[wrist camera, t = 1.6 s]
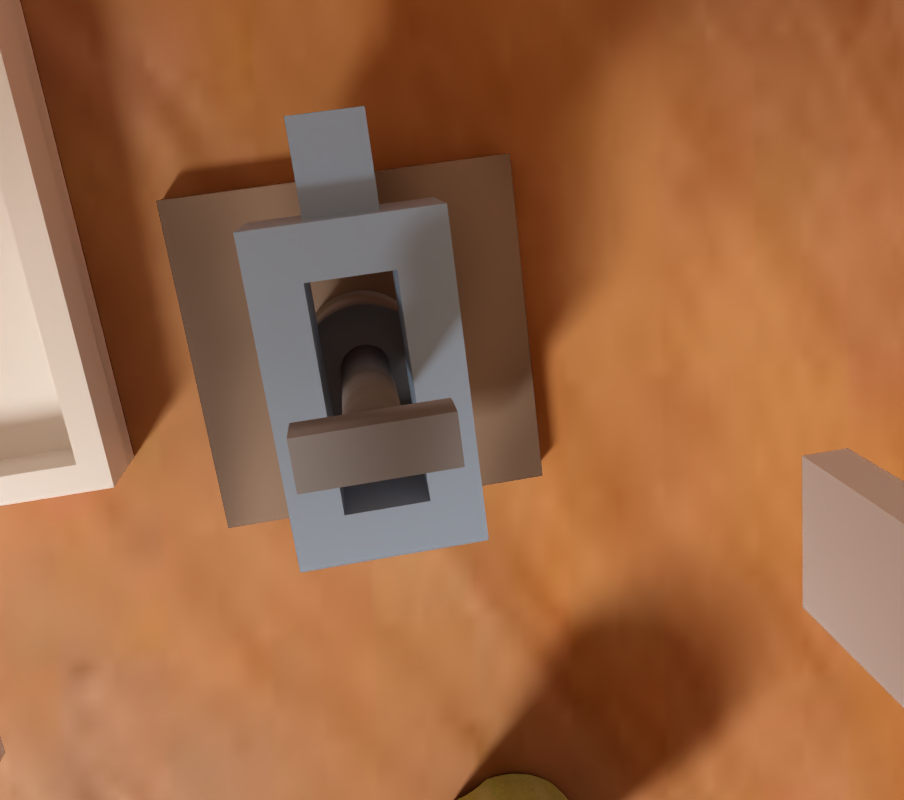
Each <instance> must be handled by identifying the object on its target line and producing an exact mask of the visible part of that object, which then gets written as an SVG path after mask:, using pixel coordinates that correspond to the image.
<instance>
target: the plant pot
mask: <svg viewBox="0 0 904 800" xmlns="http://www.w3.org/2000/svg"><path fill="white" fill-rule="evenodd" d="M457 800H568V799H567V798H566V797H565V796H564V794H563V793H562V792H561V791H560V790H559V789H558V788H557V787H556V786H554V785H553V784H552V783H550V782H549V781H547V780H545V779H543V778H540V777H537V776H533V775H528V774H505V775H499V776H495V777H492V778H489V779H486V780H485V781H484V782H483V783H482V784H480V785H479V786H478V787H477V788H476V789H474V790H473V791H472V792H470V793H469V794H467V795H465V796H464V797H462V798H459V799H457Z"/></svg>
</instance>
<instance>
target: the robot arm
mask: <svg viewBox="0 0 904 800" xmlns="http://www.w3.org/2000/svg"><path fill="white" fill-rule="evenodd" d="M802 496H803V608H804V609H805V610H806V611H807V612H808V613H809V614H810V615H811V616H812V617H813V618H814V619H815V620H816V621H817V622H818V623H819V624H820V625H821V626H822V627H823V628H824V629H825V630H826V631H827V632H828V633H829V634H830V635H831V636H832V637H833V638H834V639H835V640H836V641H837V642H838V643H839V644H840V645H841V646H842V647H843V648H844V649H845V650H846V651H847V652H848V653H849V654H850V655H851V656H852V657H853V658H854V659H855V660H856V661H857V662H858V663H859V664H860V665H861V666H862V667H863V668H864V669H865V670H866V671H867V672H868V673H869V674H870V675H871V676H872V677H873V678H874V679H875V680H876V681H877V682H878V683H879V684H880V685H881V686H882V687H883V688H884V689H885V690H886V691H887V692H888V693H889V694H890V695H891V696H892V697H893V698H894V699H895V700H896V701H897V702H898V703H899V704H900V705H901V706H902V707H903V708H904V481H902V480H900V479H899V478H897V477H895V476H894V475H892V474H890V473H889V472H887V471H885V470H884V469H882V468H880V467H879V466H877V465H875V464H873V463H872V462H870V461H868V460H867V459H865V458H863V457H862V456H860V455H858V454H857V453H855V452H853V451H852V450H850V449H848V448H846V449H840V450H834V451H828V452H822V453H816V454H810V455H804V456H802ZM4 754H5V749H4V746H3V743H2V740H1V737H0V761H1V759H2V757H3V756H4Z"/></svg>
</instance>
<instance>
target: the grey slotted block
mask: <svg viewBox="0 0 904 800" xmlns="http://www.w3.org/2000/svg"><path fill="white" fill-rule="evenodd" d="M284 120H285V126H286V131H287V137H288V143H289V149H290V154H291V160H292V166H293V172H294V177H295V183H296V189H297V195H298V200H299V206H300V212H301V215H298V216H291V217H284V218H277V219H269V220H262V221H255V222H247V223H245V224H244V225H242V226H241V227H240V228H239V229H237V230H236V231H235V232H233V234H234V239H235V244H236V249H237V254H238V260H239V265H240V270H241V275H242V280H243V285H244V290H245V295H246V300H247V305H248V310H249V315H250V320H251V325H252V330H253V335H254V341H255V346H256V351H257V356H258V361H259V366H260V371H261V376H262V381H263V386H264V391H265V396H266V401H267V406H268V411H269V416H270V422H271V427H272V432H273V437H274V442H275V447H276V452H277V457H278V462H279V467H280V472H281V477H282V482H283V487H284V492H285V497H286V503H287V508H288V513H289V518H290V523H291V528H292V533H293V538H294V543H295V548H296V553H297V558H298V563H299V568H300V572H306V571H312V570H318V569H324V568H329V567H335V566H341V565H347V564H353V563H358V562H364V561H370V560H376V559H381V558H387V557H393V556H399V555H405V554H410V553H416V552H422V551H428V550H434V549H439V548H445V547H451V546H457V545H462V544H468V543H474V542H480V541H486V540H489V538H488V530H487V522H486V514H485V506H484V498H483V490H482V481H481V473H480V465H479V457H478V449H477V441H476V433H475V425H474V417H473V409H472V401H471V393H470V385H469V377H468V369H467V361H466V353H465V345H464V337H463V328H462V320H461V312H460V304H459V296H458V288H457V280H456V272H455V264H454V256H453V248H452V240H451V232H450V224H449V216H448V208H447V203H445V202H443V201H441V200H439V199H437V198H435V197H430V198H422V199H415V200H408V201H401V202H393V203H386V204H379V201H378V194H377V187H376V180H375V173H374V167H373V160H372V153H371V146H370V139H369V132H368V126H367V119H366V112H365V106H360V107H352V108H344V109H336V110H328V111H320V112H313V113H305V114H297V115H289V116H284ZM385 271H392V272H393V279H394V285H395V292H396V299H397V306H398V313H399V320H400V327H401V333H402V340H403V347H404V354H405V361H406V368H407V375H408V381H409V388H410V395H411V402H412V404H413V403H419V402H426V401H432V400H438V399H445V398H452V400H453V402H454V405H455V407H456V409H457V411H458V417H459V425H460V433H461V441H462V448H463V456H464V464H465V467H462V468H456V469H449V470H443V471H437V472H431V473H425V474H419V475H413V476H407V477H401V478H395V479H389V480H383V481H377V482H371V483H365V484H359V485H353V486H346V487H340V488H334V489H328V490H322V491H316V492H310V493H304V494H298V495H297V491H296V486H295V480H294V475H293V470H292V465H291V460H290V454H289V449H288V444H287V433H288V427H289V423H293V422H299V421H305V420H312V419H318V418H324V417H331V416H333V410H332V404H331V399H330V393H329V387H328V381H327V376H326V370H325V364H324V358H323V353H322V347H321V341H320V335H319V330H318V324H317V318H316V313H315V307H314V301H313V295H312V290H311V284H310V282H316V281H323V280H330V279H337V278H344V277H351V276H358V275H365V274H372V273H378V272H385Z"/></svg>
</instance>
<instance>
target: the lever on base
mask: <svg viewBox="0 0 904 800" xmlns="http://www.w3.org/2000/svg"><path fill="white" fill-rule="evenodd" d="M374 173H375V180H376V187H377V194H378V201H379V204H386V203H393V202H401V201H408V200H415V199H422V198H430V197H435V198H437V199H439V200H441V201H443V202H445V203H447V208H448V216H449V224H450V232H451V240H452V248H453V256H454V264H455V272H456V280H457V288H458V296H459V304H460V312H461V320H462V328H463V337H464V345H465V353H466V361H467V369H468V377H469V385H470V393H471V401H472V409H473V417H474V425H475V433H476V441H477V449H478V457H479V465H480V473H481V481H482V486H483V485H489V484H495V483H501V482H507V481H513V480H519V479H525V478H531V477H537V476H542V466H541V456H540V447H539V437H538V427H537V417H536V407H535V397H534V387H533V378H532V368H531V358H530V348H529V338H528V328H527V319H526V309H525V299H524V289H523V279H522V269H521V259H520V250H519V240H518V230H517V220H516V210H515V200H514V190H513V181H512V171H511V161H510V154H498V155H491V156H483V157H476V158H468V159H461V160H453V161H446V162H438V163H431V164H423V165H416V166H408V167H401V168H393V169H386V170H378V171H374ZM156 202H157V207H158V211H159V216H160V221H161V225H162V230H163V234H164V239H165V243H166V248H167V252H168V257H169V261H170V266H171V270H172V275H173V279H174V284H175V288H176V293H177V297H178V302H179V306H180V311H181V315H182V320H183V324H184V329H185V334H186V338H187V343H188V347H189V352H190V356H191V361H192V365H193V370H194V374H195V379H196V383H197V388H198V392H199V397H200V401H201V406H202V410H203V415H204V419H205V424H206V428H207V433H208V438H209V442H210V447H211V451H212V456H213V460H214V465H215V469H216V474H217V478H218V483H219V487H220V492H221V496H222V501H223V505H224V510H225V514H226V519H227V523H228V528H232V527H238V526H244V525H250V524H256V523H262V522H268V521H274V520H280V519H286V518H289V513H288V508H287V503H286V497H285V492H284V487H283V482H282V477H281V472H280V467H279V462H278V457H277V452H276V447H275V442H274V437H273V432H272V427H271V422H270V416H269V411H268V406H267V401H266V396H265V391H264V386H263V381H262V376H261V371H260V366H259V361H258V356H257V351H256V346H255V341H254V335H253V330H252V325H251V320H250V315H249V310H248V305H247V300H246V295H245V290H244V285H243V280H242V275H241V270H240V265H239V260H238V254H237V249H236V244H235V239H234V234H233V232H235V231H236V230H237V229H239V228H240V227H241V226H242V225H244V224H245V223H247V222H255V221H262V220H269V219H277V218H284V217H291V216H298V215H301V212H300V206H299V200H298V195H297V189H296V183H295V182H289V183H281V184H274V185H266V186H259V187H251V188H244V189H236V190H229V191H221V192H214V193H206V194H199V195H191V196H184V197H176V198H169V199H162V200H158V201H156ZM310 284H311V290H312V295H313V301H314V307H315V313H316V318H317V324H318V330H319V335H320V341H321V347H322V353H323V358H324V364H325V370H326V376H327V381H328V387H329V393H330V399H331V404H332V410H333V416H331V417H324V418H318V419H312V420H305V421H299V422H293V423H289V427H288V433H287V444H288V449H289V454H290V460H291V465H292V470H293V475H294V480H295V486H296V491H297V495H298V494H304V493H310V492H316V491H322V490H328V489H334V488H340V487H346V486H353V485H359V484H365V483H371V482H377V481H383V480H389V479H395V478H401V477H407V476H413V475H419V474H425V473H431V472H437V471H443V470H449V469H456V468H462V467H465V464H464V456H463V448H462V441H461V433H460V425H459V417H458V411H457V409H456V407H455V405H454V402H453V400H452V398H445V399H438V400H432V401H426V402H419V403H413V404H412V402H411V395H410V388H409V381H408V375H407V368H406V361H405V354H404V347H403V340H402V333H401V327H400V320H399V313H398V306H397V299H396V292H395V285H394V279H393V272H392V271H385V272H378V273H372V274H365V275H358V276H351V277H344V278H337V279H330V280H323V281H316V282H310Z"/></svg>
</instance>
